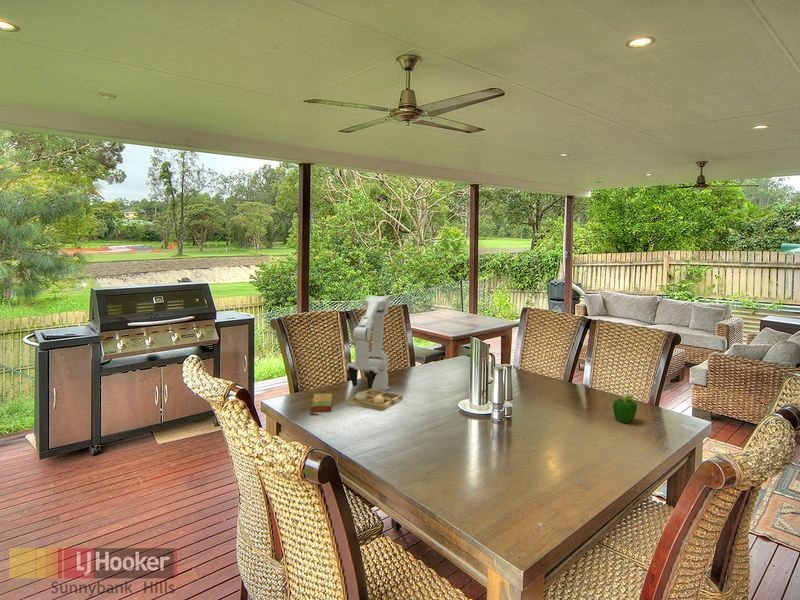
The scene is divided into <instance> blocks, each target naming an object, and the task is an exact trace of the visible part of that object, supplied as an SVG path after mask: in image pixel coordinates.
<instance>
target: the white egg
mask: <svg viewBox="0 0 800 600" xmlns="http://www.w3.org/2000/svg"><path fill="white" fill-rule="evenodd" d="M363 392H364V391H359V392H356V394H355V395H354V396H355V399H356V400H357V401H362V402H364V401H365V400H366V394H365V393H363Z"/></svg>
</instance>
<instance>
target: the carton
mask: <svg viewBox="0 0 800 600" xmlns="http://www.w3.org/2000/svg"><path fill="white" fill-rule="evenodd" d="M332 406H333V393H313V394H312V399H311V404H310V416H320V414H318V413H329V412H330V413H331V412H332Z"/></svg>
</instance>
